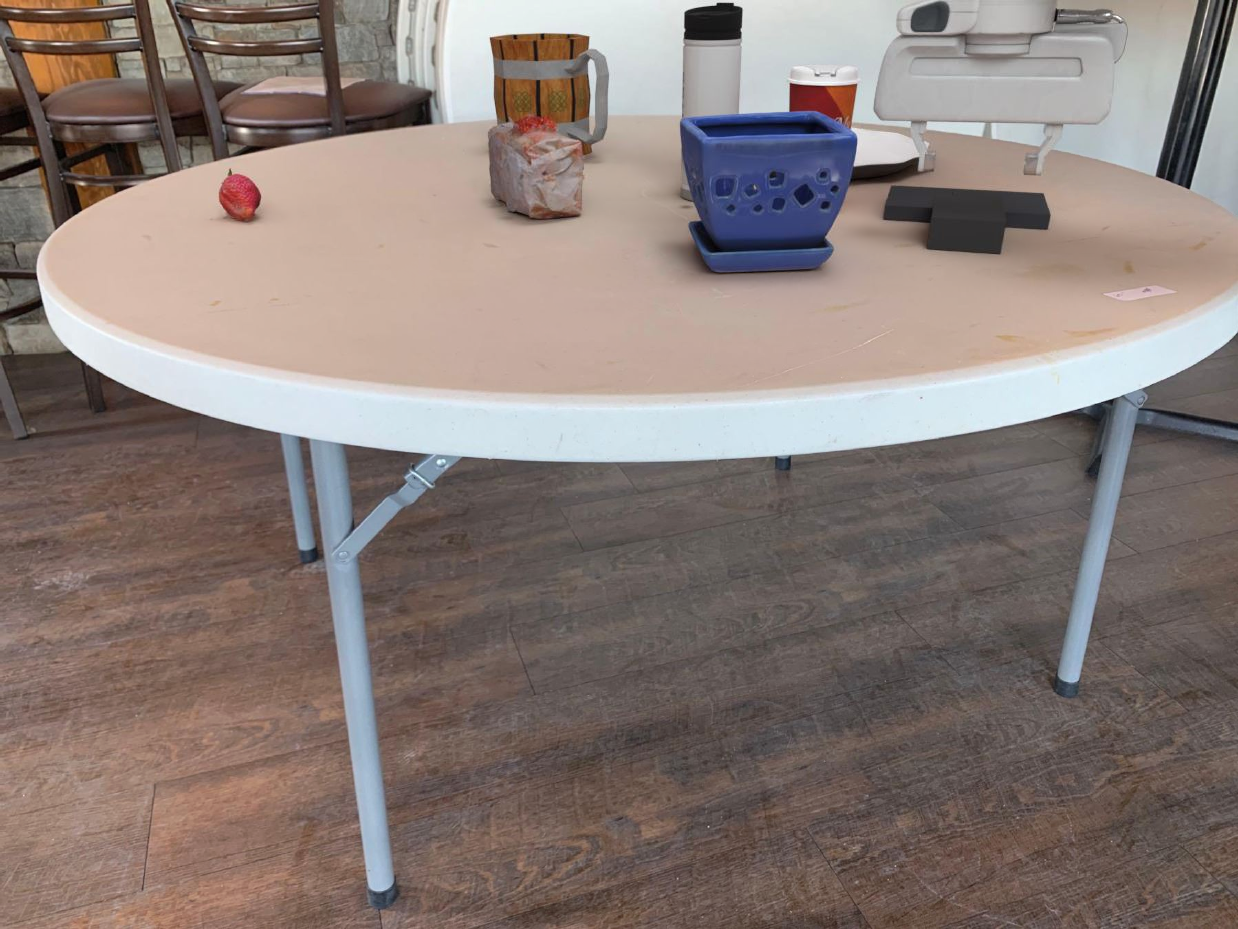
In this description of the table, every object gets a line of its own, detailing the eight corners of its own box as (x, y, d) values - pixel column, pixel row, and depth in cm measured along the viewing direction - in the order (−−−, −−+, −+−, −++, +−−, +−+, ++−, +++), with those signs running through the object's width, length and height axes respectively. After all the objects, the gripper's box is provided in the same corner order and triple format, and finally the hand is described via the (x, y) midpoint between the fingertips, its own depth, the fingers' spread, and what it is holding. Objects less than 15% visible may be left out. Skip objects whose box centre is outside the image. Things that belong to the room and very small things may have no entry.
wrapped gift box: (595, 217, 103) (593, 120, 98) (526, 226, 99) (520, 126, 95) (543, 193, 113) (539, 104, 109) (479, 201, 110) (472, 109, 105)
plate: (968, 159, 128) (971, 141, 127) (850, 197, 109) (853, 175, 108) (785, 136, 146) (786, 119, 145) (657, 164, 127) (657, 146, 126)
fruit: (228, 226, 101) (218, 177, 99) (219, 214, 106) (210, 168, 103) (270, 221, 103) (261, 173, 100) (259, 210, 107) (251, 163, 105)
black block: (996, 221, 99) (1001, 191, 98) (1000, 254, 89) (1006, 221, 87) (931, 216, 101) (935, 187, 100) (927, 248, 90) (931, 216, 89)
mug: (477, 152, 137) (468, 37, 130) (549, 140, 145) (545, 31, 138) (569, 171, 124) (564, 45, 117) (642, 156, 133) (642, 38, 126)
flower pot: (694, 283, 82) (698, 136, 76) (675, 242, 94) (677, 112, 88) (848, 278, 83) (863, 132, 77) (810, 237, 94) (821, 109, 89)
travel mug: (745, 193, 112) (754, 2, 103) (720, 204, 107) (728, 5, 98) (696, 187, 115) (701, 1, 105) (670, 199, 110) (673, 4, 100)
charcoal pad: (1041, 206, 105) (1044, 192, 104) (1047, 229, 96) (1051, 214, 95) (889, 198, 109) (891, 184, 108) (883, 219, 100) (884, 204, 100)
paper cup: (850, 211, 104) (864, 71, 97) (778, 209, 105) (787, 71, 98) (846, 195, 111) (859, 63, 104) (779, 193, 112) (787, 63, 105)
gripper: (1127, 6, 84) (1094, 169, 90) (885, 9, 90) (870, 162, 96) (1138, 10, 79) (1103, 183, 85) (880, 12, 84) (865, 175, 91)
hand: (978, 172), depth 90 cm, fingers open, 8 cm apart
